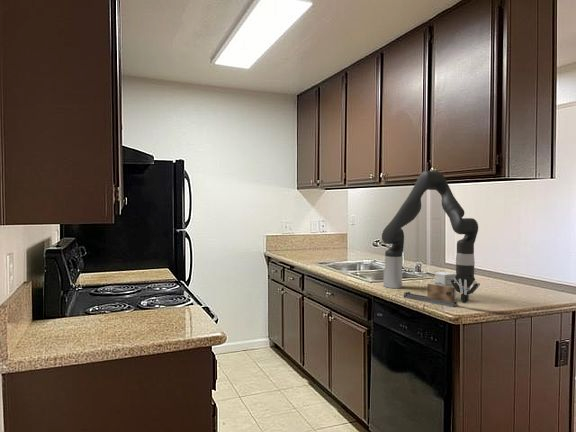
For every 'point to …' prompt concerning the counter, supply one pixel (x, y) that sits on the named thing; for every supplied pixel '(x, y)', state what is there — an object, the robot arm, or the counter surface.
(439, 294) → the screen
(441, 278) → the supplement box
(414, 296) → the rail
